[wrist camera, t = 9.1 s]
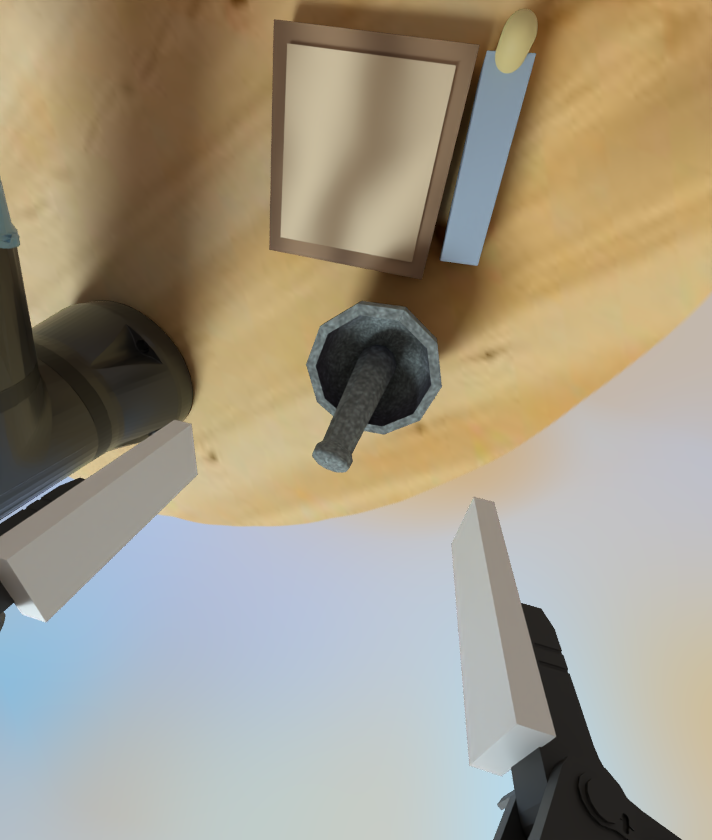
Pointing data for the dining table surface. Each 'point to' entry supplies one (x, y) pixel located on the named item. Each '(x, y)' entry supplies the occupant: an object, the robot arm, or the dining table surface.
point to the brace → (489, 138)
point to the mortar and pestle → (371, 376)
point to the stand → (362, 142)
